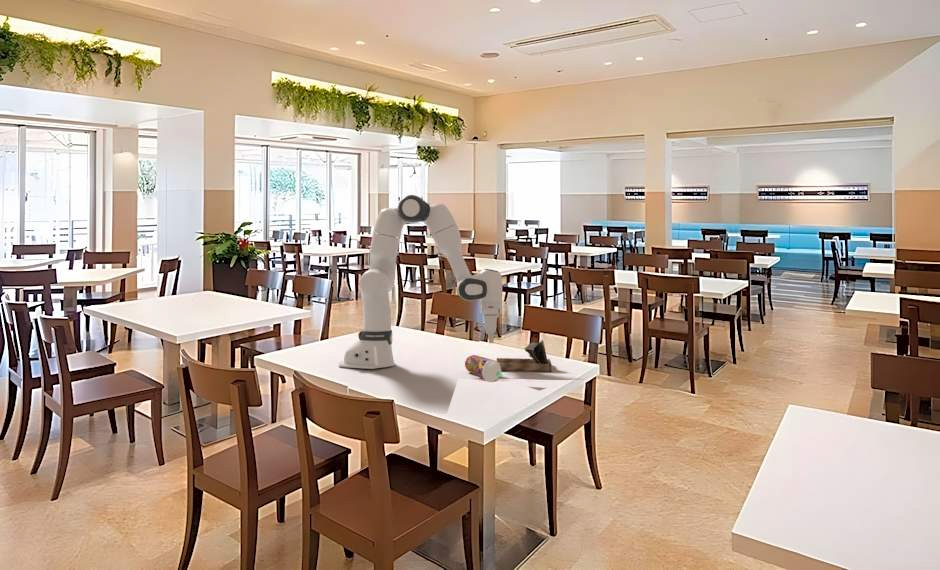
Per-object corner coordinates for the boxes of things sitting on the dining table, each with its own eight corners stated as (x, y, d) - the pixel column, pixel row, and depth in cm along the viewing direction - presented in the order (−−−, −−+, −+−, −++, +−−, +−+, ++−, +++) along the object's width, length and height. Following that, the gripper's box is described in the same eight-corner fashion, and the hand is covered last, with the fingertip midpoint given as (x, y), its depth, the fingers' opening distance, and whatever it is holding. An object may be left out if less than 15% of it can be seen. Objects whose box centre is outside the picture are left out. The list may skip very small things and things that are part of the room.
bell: (535, 365, 258) (536, 337, 257) (548, 368, 253) (548, 339, 252) (519, 368, 252) (520, 339, 251) (532, 371, 246) (533, 341, 246)
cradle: (495, 370, 245) (495, 363, 244) (496, 365, 259) (496, 358, 258) (551, 372, 243) (551, 364, 243) (549, 366, 257) (549, 359, 257)
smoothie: (459, 359, 238) (490, 371, 222) (475, 348, 242) (506, 359, 226) (466, 377, 241) (497, 390, 225) (481, 366, 245) (513, 378, 229)
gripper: (484, 307, 262) (484, 339, 262) (482, 310, 241) (482, 345, 242) (499, 307, 261) (499, 339, 262) (498, 310, 241) (498, 346, 241)
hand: (491, 342), depth 251 cm, fingers closed
